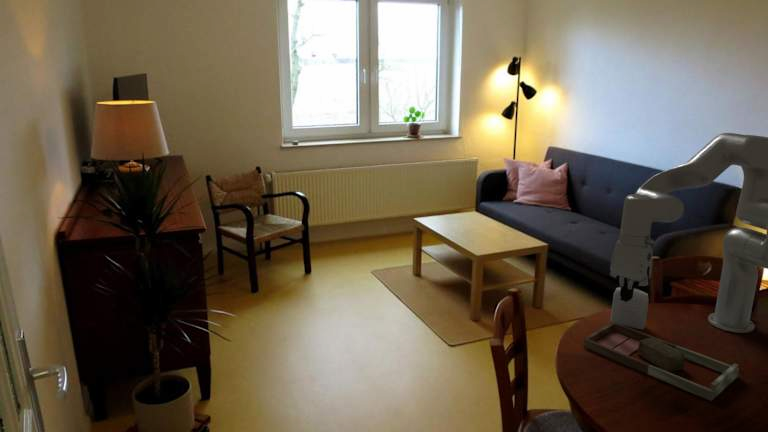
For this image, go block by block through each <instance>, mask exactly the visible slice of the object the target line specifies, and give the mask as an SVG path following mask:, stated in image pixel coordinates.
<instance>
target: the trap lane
mask: <svg viewBox="0 0 768 432" xmlns="http://www.w3.org/2000/svg"><path fill="white" fill-rule="evenodd" d="M647 338H656V339H658V340H660V341H662V342H664V343H665V344H667V345H669V346H671V347H673V348H675V349H676V350H678V351H680V352H682V353H683V355H684V357H685V360H687V361H690V362H693V363H696V364H699V365H702V366H703V365H704V367H706V368H709V369H711V370H714V371H716V372H720V373H721V374H720V375H719V376H718V377H717V378H716V379H715V380H714V381H712V382H711V383H710V387H707V386H703V385H701V384H700V383H699V384H698V383H696V382H694V381H691V380H689V379H686V378H684V377H682V376H679V375H676V374H675V373H673V372H668V371H665V370H663V369H661V368H660V367H658V366H656V365H655V366H654V364H653V365H652V364H650V363H648V362H645V361H644V360H643V361H642V360H640V359H639V358H638V359H637V358H635V357H633V356H631V355H632V354H634V353H636V352H637V349H638V346H639V343H640V340H643V339H647ZM599 339H600V340H599ZM583 342H584V343H583V348H584V349H588V350H589V349H590V351H592V352H594V353H597V354H599V355H601V356H604V357H606V358H608V359H611V360H613V361H615V362H618V363H619V364H620V363H621V364H623V365H625V366H626V367H630V368H632V369H635V370H637V371H639V372H642V373H644V374H646V375H648V376H650V377H653V378H655V379H657V380H658V379H659V381H663V382H664V383H668V384H670V385H672V386H674V387H677V388H679V389H682V390H684V391H686V392H689V393H692V394H693V395H696V396H699V397H701V398H703V399H704V400H705V399H706V400H708V401H710V402H712V401H713V400H714V399H715V398H716V397H717V396H718V395H719V394H721V393H722V392H723V391H724V390H725V389H726V388H727V387H728V386H729V385H730V384H732V383H733V382H734V381H735V380H736V379H737V378H738V376H739V371H740V367H739V364H738V363H734V362H733V364H728V363H726V362H723V361H720V360H718V359H715V358H712V357H710V356H707V355H704V354H703V353H698V352H696V351H693V350H690V349H688V348H685V347H683V346H681V345H680V346H679V345H677V344H675V343H673V342H669V341H667V340H663V339H661V338H657V337H655V336H653V335H650V334H647V333H645V332H643V331H640V330H638V329H637V330H636V329H635V328H632V327H628V326H624V325H621V324H618V323H615V322H614V323H612V322H610V323H609V324H607V325H604V326H603V327H601V328H600V329H597V330H596V331H594V332H592V333H591V334H589V335H588V336H587V335H586V337H584V341H583Z"/></svg>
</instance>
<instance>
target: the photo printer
mask: <svg viewBox="0 0 768 432" xmlns="http://www.w3.org/2000/svg"><path fill="white" fill-rule="evenodd" d="M620 291H621V287H620V286H619V287H616V288H615V291H614V292H613V297H612V305H611V313H610V323H614V322H615V323H618V324H621V325H623V326H626V327H629V328H631V329H637V330H645V328H646V320H647V315H648V308H649V300H650V299H649V294H648V293H647V292H645V291H642V290H640V289H638V288H634V291H633V297H632V299H631V300H629V301H627V302H625V301H622V300H620V299H621V296H620Z"/></svg>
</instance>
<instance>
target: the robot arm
mask: <svg viewBox="0 0 768 432" xmlns="http://www.w3.org/2000/svg"><path fill="white" fill-rule="evenodd" d="M731 166H739V167H741V170H742V173H743V182H742V185H741V186H742V187H741V190H740V195H739V198H738V203H737V206H736V207H737V208H736V218H737V220H738V221H739V222H741V223H743V224H745V225H750V226H751V227H754V228H759V229H762V230H765V231H766V233H764V232H762V231H758V230H755V229H751V228H748V227H747V228H746V227H742V226H740V227H739V226H738V227H733V228H731V229H728V230H727V231H726V233H725V234H724V237H723V239H722V254H723V255H722V258H723V259H722V261H723V262H722V266H721V267H722V269H721V274H720V279H719V285H718V293H717V298H716V303H715V310H714V312H712V313H710V314H709V315H708V317H707V320H708V322H709V323H710V324H711V326H714V327H716V328H718V329H720V330H723V331H726V332H732V333H739V334H748V333H751V332H753V331H754V330H755V326H756V325H755V323H754V322H753V321H752V320H751V314H752V309H753V304H754V299H755V294H756V289H757V288H756V287H757V282H758V279H759V278H758V277H759V273H758V271H759V270H758V267H761V268H763V269H767V270H768V137H767V136H761V135H754V134H740V133H732V132H724V133H720V134H717V135H716V136H715V137H714V138H712V139H711V140H710V141H709V142H708V143H707V144H705V145H704V146H703V148H701V149H700V150H699V151H698V152H696V154H694V155H693V156H692V157H691V158H690V159H689V160H688V161H686V162H685V163H683V164H679V165H677V166H673V167H671V168H669V169H666V170H664V171H661V172H658V173H657V174H655V175H653V176H652V177H650V178H649V179H648V180H646V181H645V183H643V184H642V185H641V186H640V187H639V188H638V189H637V190H636V191H635V193H634V194H633V193H632V194H629V195H627V196H626V197H625V198H624V201H623V207H622V209H623V210H622V216H621V224H620V232H619V239H618V240H617V241H616V242H615V244H614V247H613V248H614V249H613V252H612V255H611V259H610V260H611V261H610V268H609V269H610V273H609V275H610V277H613V278H615V279H616V280H617V282H618V283H619V287H621V291H620V296H621V299H620V300H622V301H625V302H627V301H629V300H631V299H632V297H633V291H634V289H636V288H637V287H646V286H648V285H649V279H650V278H651V277H652V271H653V270H652V268H653V249H652V248H653V247H652V245H653V244H654V243H655V240H654V239H652V238H651V230H652V223H653V222H655V223H672V222H676V221H677V220H679V219H680V218H681V217H682V216H683V214H684V212H685V205H684V202H682V200H681V199H680V198H678V197H676V196H675V195H670V194H669V193H672V192H675V191H678V190H679V191H680V190H687V189H696V188H697V189H698V188H703V187H707V186H709V185H711V183H713V182H714V181H715V180H716V179H717V178H718V177H720V175H722V174H723V173H724V172H725V171H727V169H728V168H730V167H731ZM757 266H758V267H757Z"/></svg>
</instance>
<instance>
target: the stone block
mask: <svg viewBox="0 0 768 432" xmlns="http://www.w3.org/2000/svg"><path fill="white" fill-rule="evenodd" d="M656 338H657V337H656ZM656 338H647V339H643V340H640V343H639V346H638V349H637V351H636V353H637V354H638V355H639V356H640V357H642V358H643V359H644V360H646V361H648V362H650V363H652V364H653V365H655V367H658V368H660V369H662V370H665V371H667V372H670V373H673V372H677V371H681V370H682V369H684V367H685V365H686V364H685V360H686V359H685V357H684V355H683V353H682V352H680V351H678V350H676V349H675V348H673V347H671V346H669V345H667V344H665V343H664V342H662V341H660V340H658V339H659V338H658V339H656Z"/></svg>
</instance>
